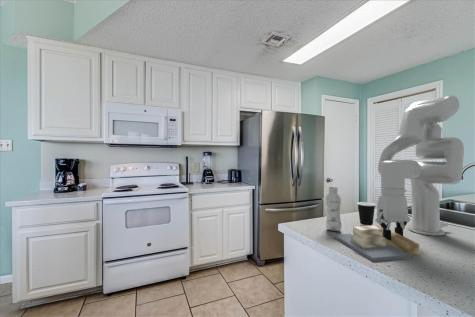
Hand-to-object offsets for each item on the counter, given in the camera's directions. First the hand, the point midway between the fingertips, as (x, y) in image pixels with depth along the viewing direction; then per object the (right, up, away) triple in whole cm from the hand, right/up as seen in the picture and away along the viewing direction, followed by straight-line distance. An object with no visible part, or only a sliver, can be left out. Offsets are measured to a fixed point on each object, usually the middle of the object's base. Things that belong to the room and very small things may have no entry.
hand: (393, 238), depth 85 cm
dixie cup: (+3, -2, +23) cm, 23 cm away
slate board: (-12, -2, -3) cm, 12 cm away
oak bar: (0, -2, 0) cm, 2 cm away
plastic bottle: (-16, -2, +16) cm, 23 cm away
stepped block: (-12, -1, -3) cm, 12 cm away
